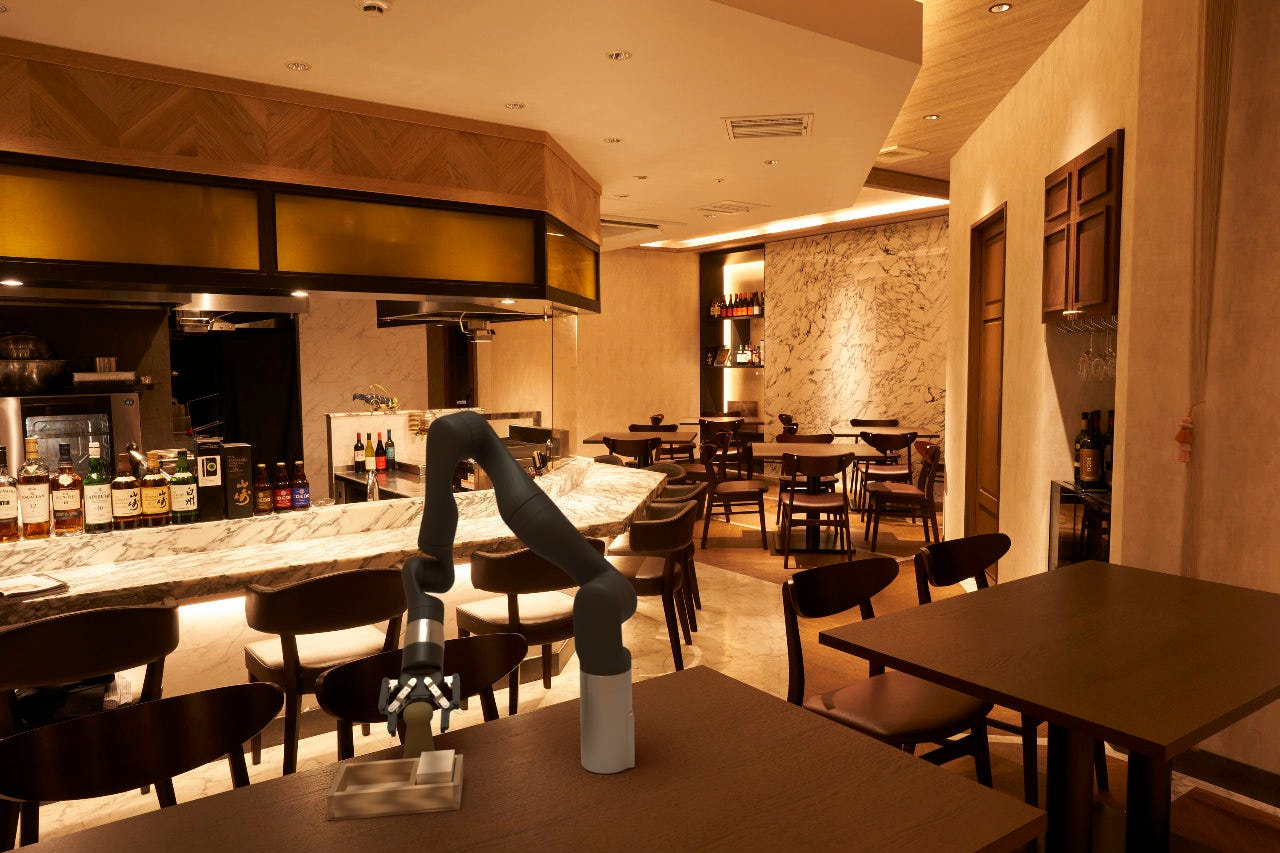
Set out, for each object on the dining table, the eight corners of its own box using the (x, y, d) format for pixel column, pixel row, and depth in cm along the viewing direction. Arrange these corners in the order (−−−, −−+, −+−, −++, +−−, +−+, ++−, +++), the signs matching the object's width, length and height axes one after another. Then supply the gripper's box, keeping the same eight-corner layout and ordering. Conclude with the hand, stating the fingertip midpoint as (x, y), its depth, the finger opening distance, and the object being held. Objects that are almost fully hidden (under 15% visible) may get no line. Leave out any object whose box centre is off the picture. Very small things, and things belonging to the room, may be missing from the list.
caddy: (463, 777, 141) (462, 745, 141) (459, 809, 130) (458, 774, 130) (342, 787, 138) (341, 754, 138) (328, 821, 127) (327, 785, 127)
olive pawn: (427, 774, 142) (426, 712, 142) (395, 771, 144) (394, 710, 143) (442, 758, 148) (441, 699, 148) (411, 756, 150) (410, 697, 149)
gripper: (382, 642, 152) (373, 728, 141) (460, 637, 154) (457, 722, 143) (387, 660, 157) (379, 745, 147) (463, 656, 160) (460, 739, 149)
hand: (418, 733), depth 145 cm, fingers open, 8 cm apart
